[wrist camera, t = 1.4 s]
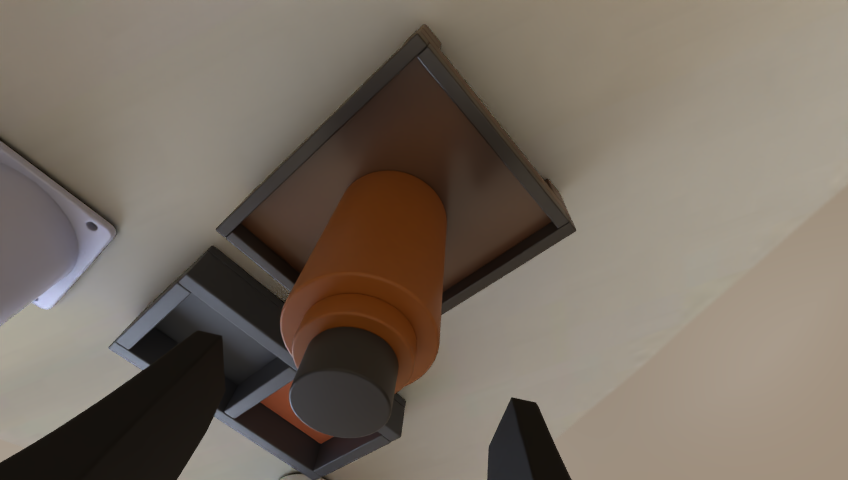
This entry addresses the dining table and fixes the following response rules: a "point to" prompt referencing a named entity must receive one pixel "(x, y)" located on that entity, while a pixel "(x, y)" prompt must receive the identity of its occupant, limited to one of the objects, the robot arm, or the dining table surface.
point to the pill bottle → (297, 477)
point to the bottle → (367, 305)
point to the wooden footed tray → (418, 156)
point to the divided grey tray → (246, 363)
